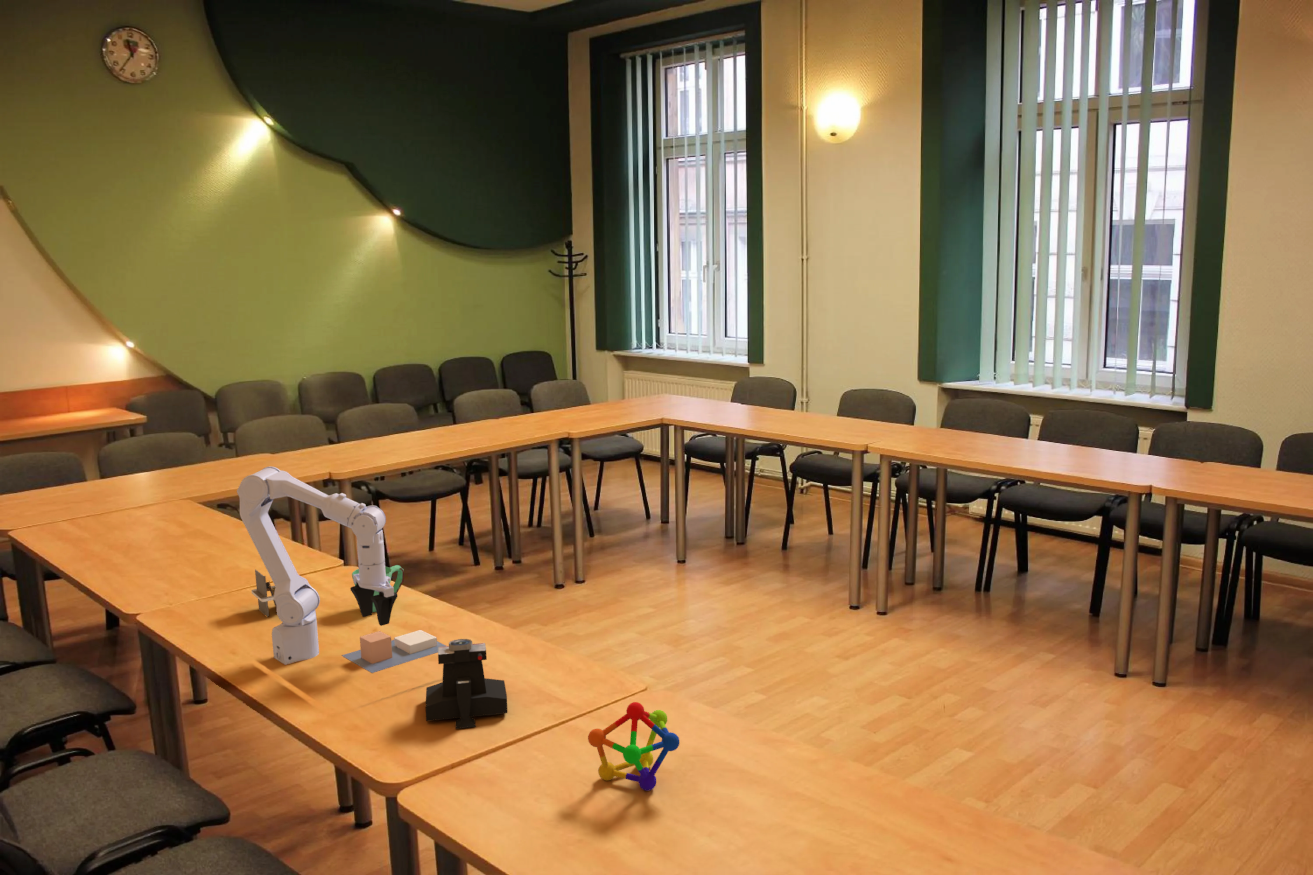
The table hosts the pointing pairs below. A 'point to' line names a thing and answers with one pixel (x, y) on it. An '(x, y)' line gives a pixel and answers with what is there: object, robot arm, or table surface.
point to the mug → (389, 573)
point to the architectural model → (263, 593)
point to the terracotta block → (376, 647)
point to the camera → (464, 686)
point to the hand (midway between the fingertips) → (375, 620)
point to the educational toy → (632, 752)
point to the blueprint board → (401, 651)
